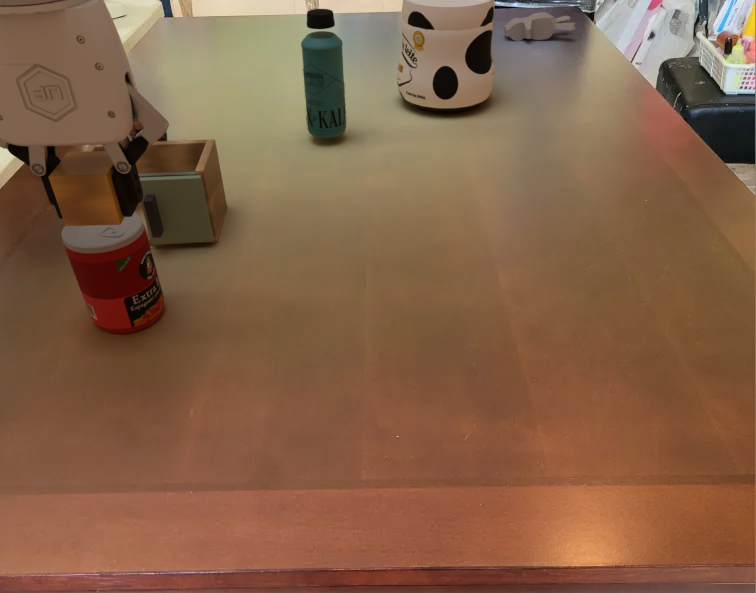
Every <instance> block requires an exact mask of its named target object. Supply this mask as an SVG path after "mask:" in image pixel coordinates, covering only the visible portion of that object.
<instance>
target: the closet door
mask: <svg viewBox="0 0 756 593" xmlns="http://www.w3.org/2000/svg"><path fill="white" fill-rule="evenodd" d="M140 182H141V186H142V190H143V199H142V201H141V206H142V209H143V213H144V217H145V221H146V224H147V228H148V232H149V235H150V239H151V243H152V244H165V245H171V244H170V243H189V244H195V243H194V242H213V240H214V236H213V231H212V226H211V221H210V216H209V212H208V207H207V202H206V197H205V192H204V187H203V182H202V177H201V175H193V176H167V177H141V178H140ZM213 243H214V242H213Z"/></svg>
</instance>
